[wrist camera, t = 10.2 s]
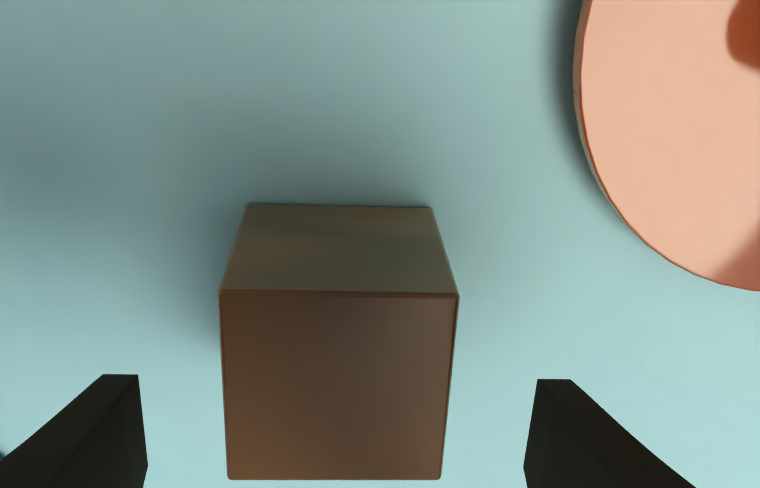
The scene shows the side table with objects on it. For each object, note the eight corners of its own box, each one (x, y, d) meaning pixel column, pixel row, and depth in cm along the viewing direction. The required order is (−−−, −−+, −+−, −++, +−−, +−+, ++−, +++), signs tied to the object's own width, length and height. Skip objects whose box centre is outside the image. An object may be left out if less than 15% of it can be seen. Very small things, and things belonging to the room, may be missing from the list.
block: (250, 360, 19) (226, 482, 15) (245, 202, 17) (216, 290, 13) (420, 362, 19) (441, 481, 15) (433, 206, 17) (461, 294, 13)
